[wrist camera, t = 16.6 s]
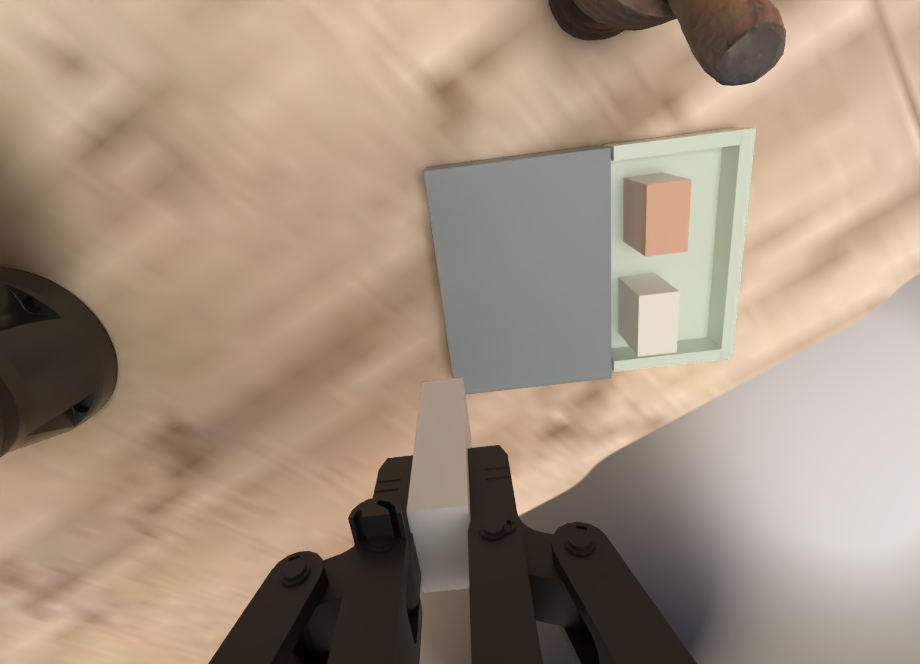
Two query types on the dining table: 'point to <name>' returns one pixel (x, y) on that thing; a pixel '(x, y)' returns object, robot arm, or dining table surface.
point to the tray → (689, 240)
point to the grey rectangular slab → (525, 267)
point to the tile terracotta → (656, 213)
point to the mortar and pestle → (690, 30)
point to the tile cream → (648, 314)
